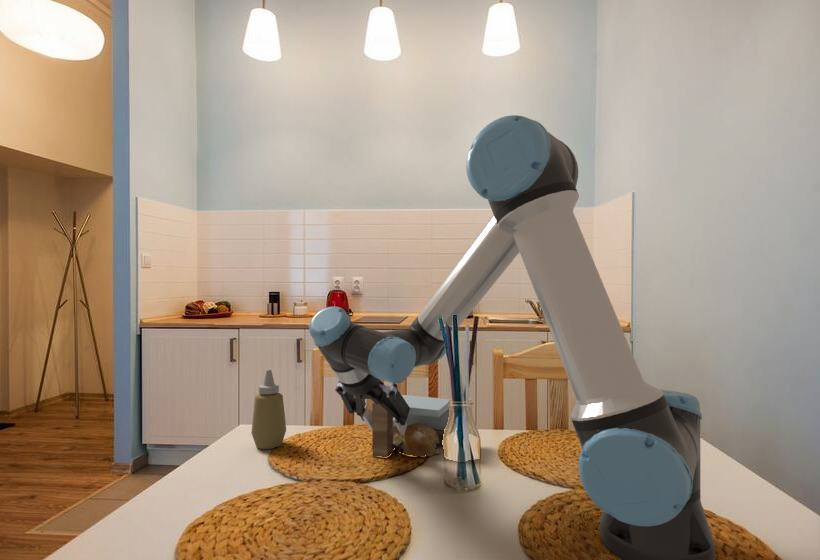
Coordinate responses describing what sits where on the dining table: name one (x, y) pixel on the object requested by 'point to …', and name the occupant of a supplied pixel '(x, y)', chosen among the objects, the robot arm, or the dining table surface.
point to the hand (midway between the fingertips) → (389, 428)
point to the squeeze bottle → (268, 415)
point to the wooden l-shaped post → (387, 431)
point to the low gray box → (427, 411)
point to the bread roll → (418, 440)
